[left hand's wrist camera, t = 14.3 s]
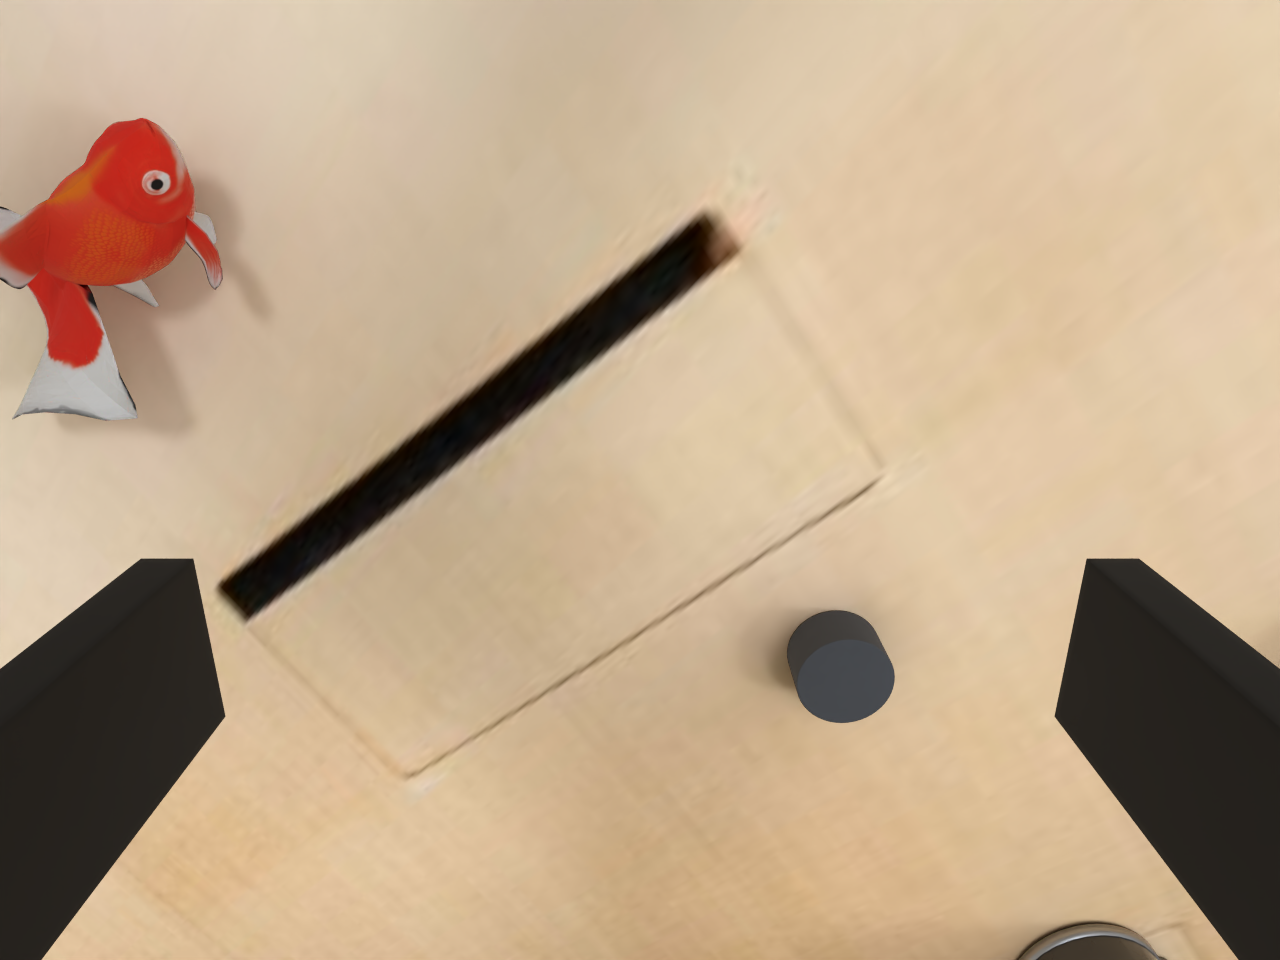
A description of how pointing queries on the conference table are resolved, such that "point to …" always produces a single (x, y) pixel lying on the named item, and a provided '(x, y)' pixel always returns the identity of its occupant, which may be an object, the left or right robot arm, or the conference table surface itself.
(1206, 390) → the conference table surface
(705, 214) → the conference table surface
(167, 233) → the fish
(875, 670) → the puck
